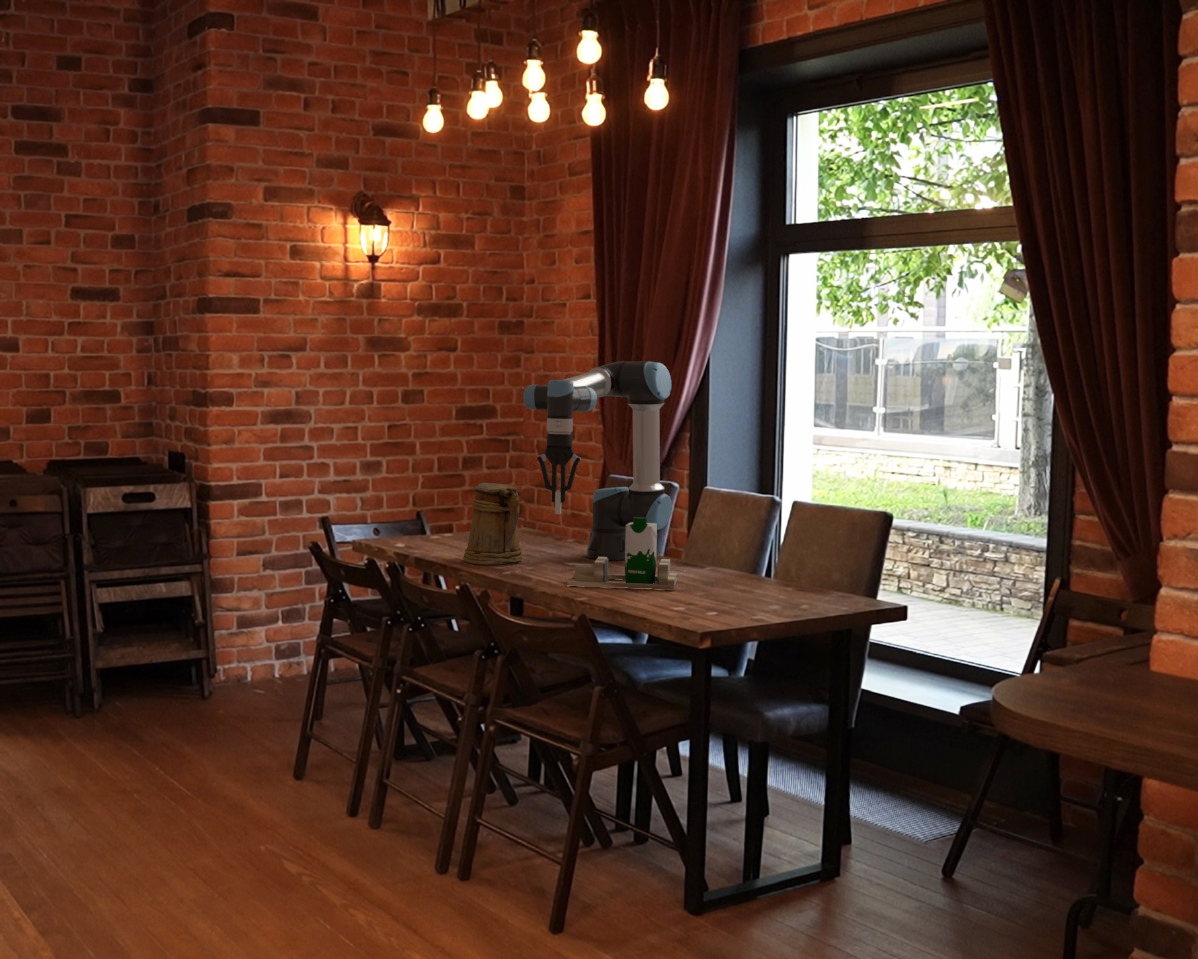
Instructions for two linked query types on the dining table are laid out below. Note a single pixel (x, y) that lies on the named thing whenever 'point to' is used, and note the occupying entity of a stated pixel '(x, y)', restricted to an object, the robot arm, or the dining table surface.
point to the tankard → (494, 526)
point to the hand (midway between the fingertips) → (558, 513)
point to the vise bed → (664, 581)
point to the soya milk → (640, 551)
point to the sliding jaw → (593, 571)
